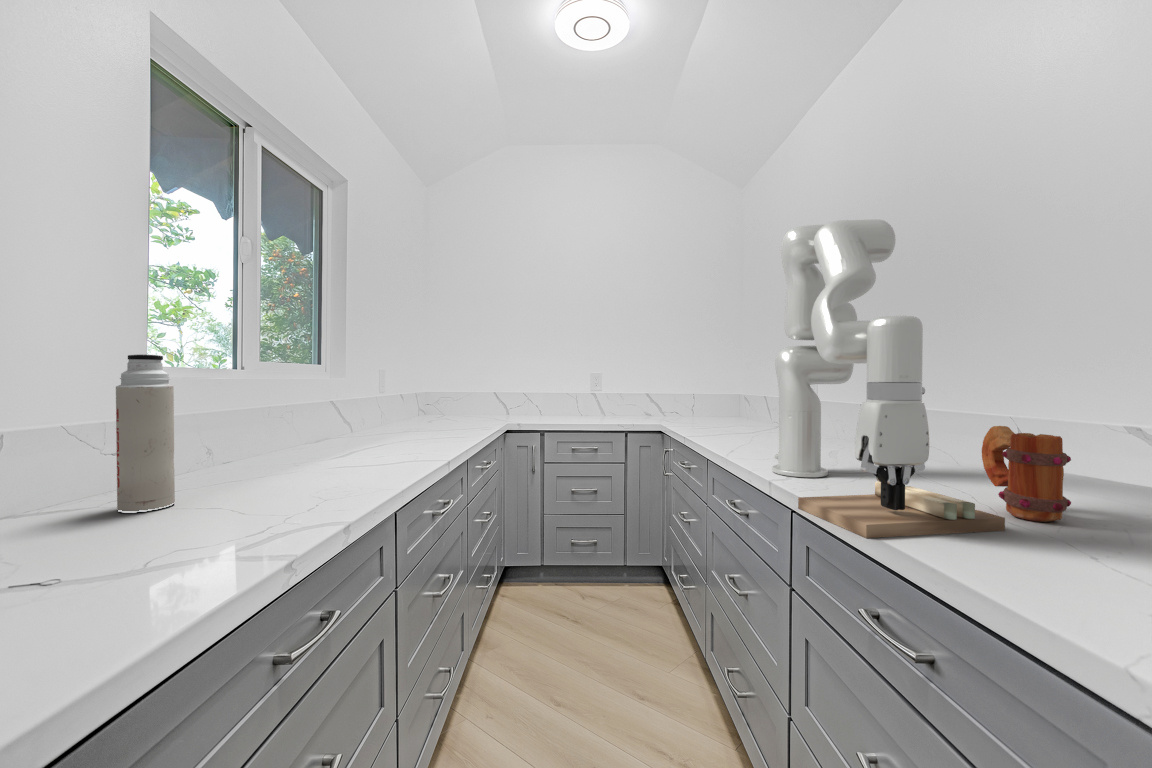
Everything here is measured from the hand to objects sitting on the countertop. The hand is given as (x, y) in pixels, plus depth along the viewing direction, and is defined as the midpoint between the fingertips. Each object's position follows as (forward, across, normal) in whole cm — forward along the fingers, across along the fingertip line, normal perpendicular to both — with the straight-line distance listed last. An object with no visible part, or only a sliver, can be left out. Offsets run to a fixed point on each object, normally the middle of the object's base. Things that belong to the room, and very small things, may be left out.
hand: (892, 507), depth 80 cm
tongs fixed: (+1, -8, -3) cm, 9 cm away
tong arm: (+1, -7, -3) cm, 8 cm away
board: (+3, -3, -4) cm, 6 cm away
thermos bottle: (+3, +126, -31) cm, 130 cm away
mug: (+3, -27, -2) cm, 28 cm away
